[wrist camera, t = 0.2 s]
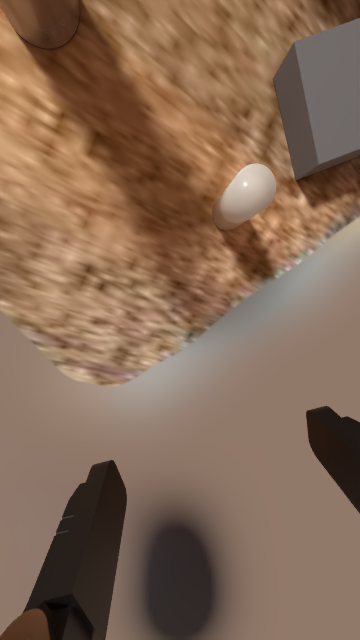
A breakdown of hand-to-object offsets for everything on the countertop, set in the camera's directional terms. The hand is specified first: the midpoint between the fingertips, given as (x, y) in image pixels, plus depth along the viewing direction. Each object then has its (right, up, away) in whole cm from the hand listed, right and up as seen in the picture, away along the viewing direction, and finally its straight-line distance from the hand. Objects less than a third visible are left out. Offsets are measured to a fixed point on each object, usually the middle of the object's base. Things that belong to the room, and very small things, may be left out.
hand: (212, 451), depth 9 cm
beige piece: (+6, +22, +25) cm, 34 cm away
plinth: (+21, +36, +24) cm, 48 cm away
